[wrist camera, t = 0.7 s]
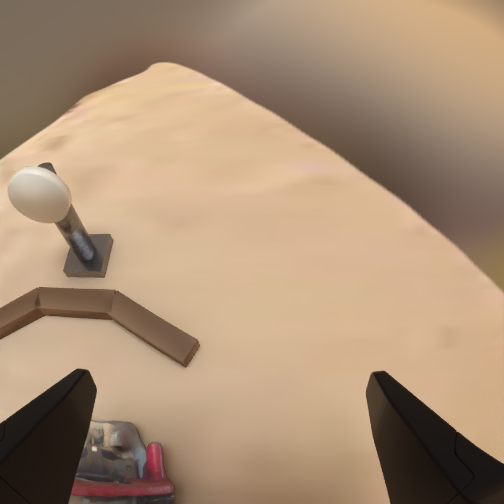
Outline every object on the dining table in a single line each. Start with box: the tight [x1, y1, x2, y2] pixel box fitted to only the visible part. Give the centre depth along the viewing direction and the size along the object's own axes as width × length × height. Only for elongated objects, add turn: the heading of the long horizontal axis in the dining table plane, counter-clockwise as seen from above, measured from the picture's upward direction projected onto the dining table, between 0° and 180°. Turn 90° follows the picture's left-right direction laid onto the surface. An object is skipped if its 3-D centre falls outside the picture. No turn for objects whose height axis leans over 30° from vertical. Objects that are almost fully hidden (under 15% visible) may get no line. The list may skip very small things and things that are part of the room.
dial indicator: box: [8, 163, 113, 277], centre depth 23 cm, size 4×5×12 cm
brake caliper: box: [69, 421, 175, 504], centre depth 14 cm, size 11×11×12 cm
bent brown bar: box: [0, 287, 200, 367], centre depth 16 cm, size 30×26×2 cm
